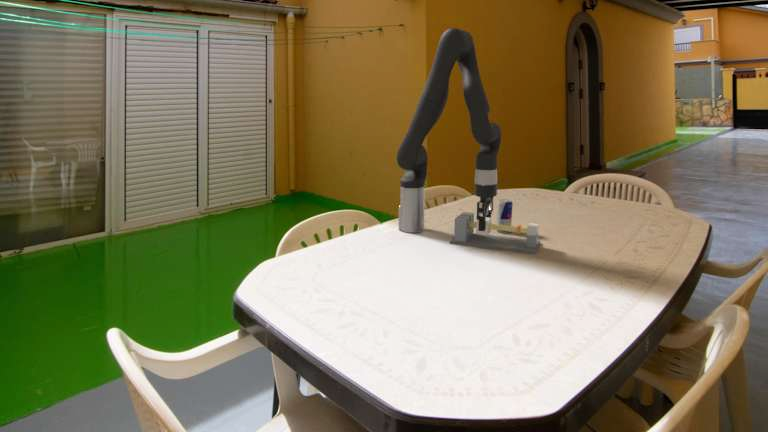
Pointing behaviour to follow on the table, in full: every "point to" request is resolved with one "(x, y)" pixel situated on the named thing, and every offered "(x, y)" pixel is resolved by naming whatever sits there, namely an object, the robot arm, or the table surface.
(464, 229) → the cord rig
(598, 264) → the table surface
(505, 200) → the energy drink
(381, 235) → the table surface
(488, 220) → the sleeve
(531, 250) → the grey base plate
